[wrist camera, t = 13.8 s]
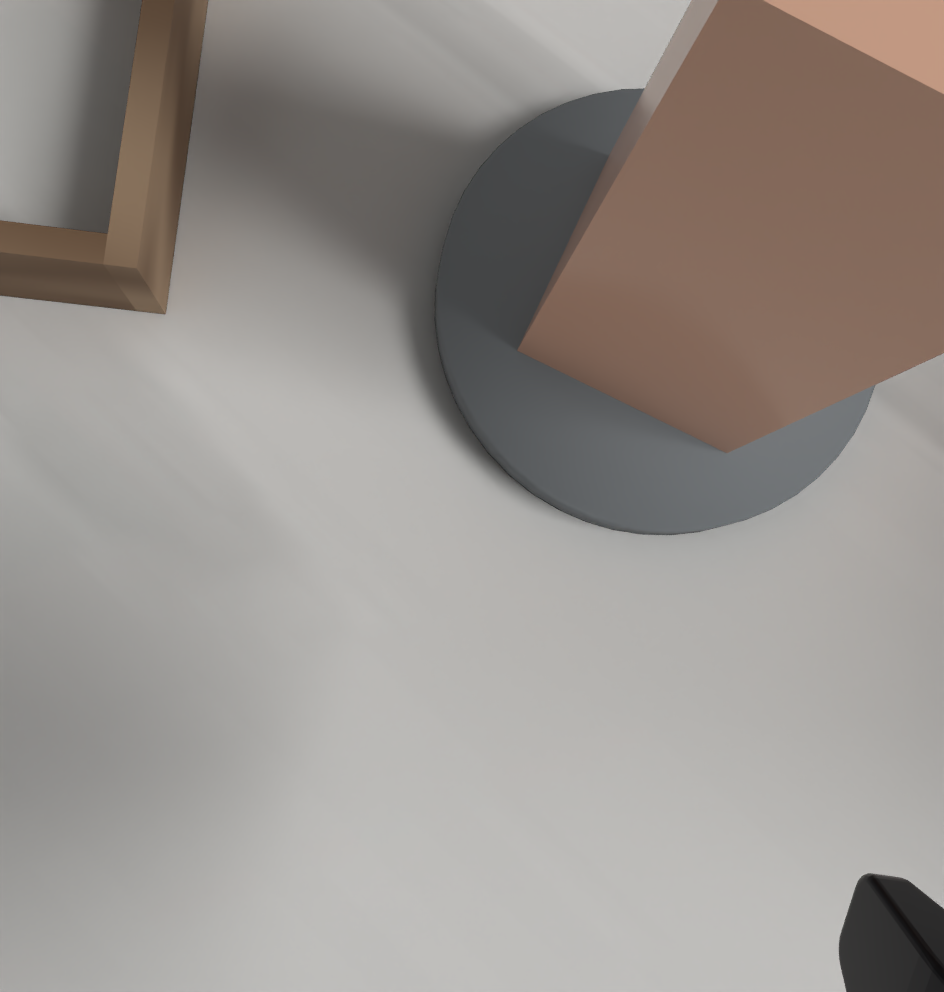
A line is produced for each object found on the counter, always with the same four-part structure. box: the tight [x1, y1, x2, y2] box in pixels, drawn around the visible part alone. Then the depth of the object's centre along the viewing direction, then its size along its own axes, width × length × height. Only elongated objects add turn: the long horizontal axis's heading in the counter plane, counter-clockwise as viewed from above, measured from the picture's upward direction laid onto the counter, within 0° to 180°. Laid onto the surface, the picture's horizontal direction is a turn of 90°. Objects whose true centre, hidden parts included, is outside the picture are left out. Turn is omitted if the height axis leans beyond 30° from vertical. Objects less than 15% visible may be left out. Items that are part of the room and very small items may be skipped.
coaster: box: [435, 89, 875, 535], centre depth 20 cm, size 10×10×1 cm
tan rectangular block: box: [517, 0, 944, 453], centre depth 14 cm, size 5×5×11 cm
